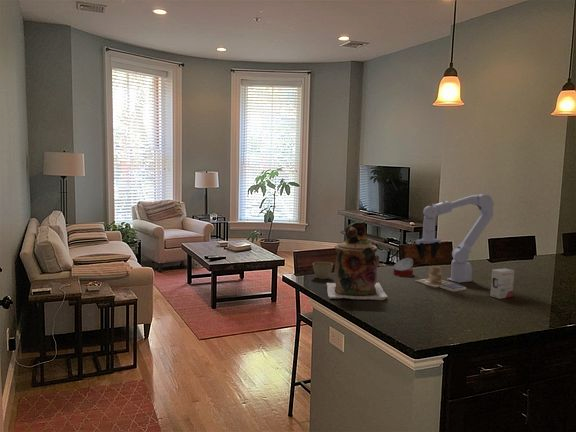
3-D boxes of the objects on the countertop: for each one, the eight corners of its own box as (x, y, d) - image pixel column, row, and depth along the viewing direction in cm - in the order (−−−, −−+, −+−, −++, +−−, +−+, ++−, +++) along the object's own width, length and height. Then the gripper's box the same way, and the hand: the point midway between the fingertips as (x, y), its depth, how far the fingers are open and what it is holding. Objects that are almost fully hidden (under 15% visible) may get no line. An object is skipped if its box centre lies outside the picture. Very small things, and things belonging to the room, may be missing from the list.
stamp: (437, 280, 239) (438, 266, 238) (441, 283, 234) (442, 268, 233) (427, 280, 238) (428, 266, 238) (431, 283, 233) (432, 268, 233)
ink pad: (452, 285, 231) (452, 283, 231) (465, 289, 224) (466, 286, 224) (439, 287, 227) (439, 284, 227) (452, 291, 220) (453, 288, 220)
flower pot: (332, 276, 247) (333, 262, 246) (332, 280, 237) (333, 266, 236) (312, 275, 248) (313, 261, 247) (311, 279, 238) (312, 265, 237)
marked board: (435, 279, 245) (435, 277, 245) (454, 284, 233) (455, 283, 233) (414, 281, 239) (414, 280, 239) (434, 287, 227) (434, 286, 227)
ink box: (503, 294, 217) (505, 267, 216) (513, 297, 213) (515, 270, 212) (489, 296, 213) (491, 269, 212) (498, 299, 209) (500, 271, 208)
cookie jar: (325, 285, 227) (327, 216, 224) (379, 287, 226) (382, 217, 223) (328, 300, 202) (330, 222, 199) (389, 302, 202) (392, 223, 198)
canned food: (412, 284, 252) (417, 269, 247) (392, 282, 252) (397, 267, 247) (409, 270, 262) (414, 255, 256) (390, 268, 262) (394, 253, 256)
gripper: (434, 229, 249) (432, 255, 251) (411, 230, 243) (410, 257, 244) (444, 230, 243) (442, 258, 244) (421, 231, 236) (420, 260, 238)
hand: (427, 258), depth 244 cm, fingers open, 7 cm apart
